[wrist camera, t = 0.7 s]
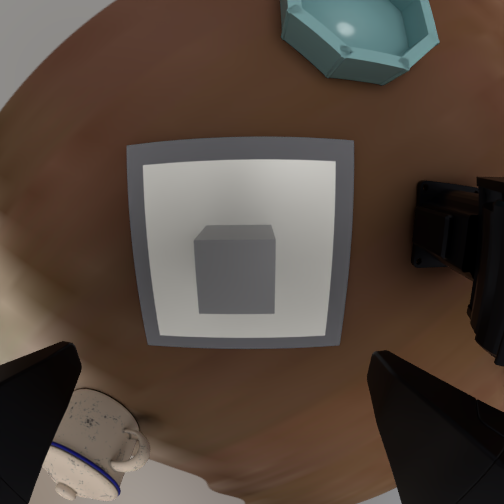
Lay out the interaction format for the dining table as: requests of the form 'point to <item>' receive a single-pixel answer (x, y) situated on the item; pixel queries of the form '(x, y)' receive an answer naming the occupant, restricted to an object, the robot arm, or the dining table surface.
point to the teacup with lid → (94, 447)
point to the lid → (240, 246)
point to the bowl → (360, 36)
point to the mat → (245, 151)
